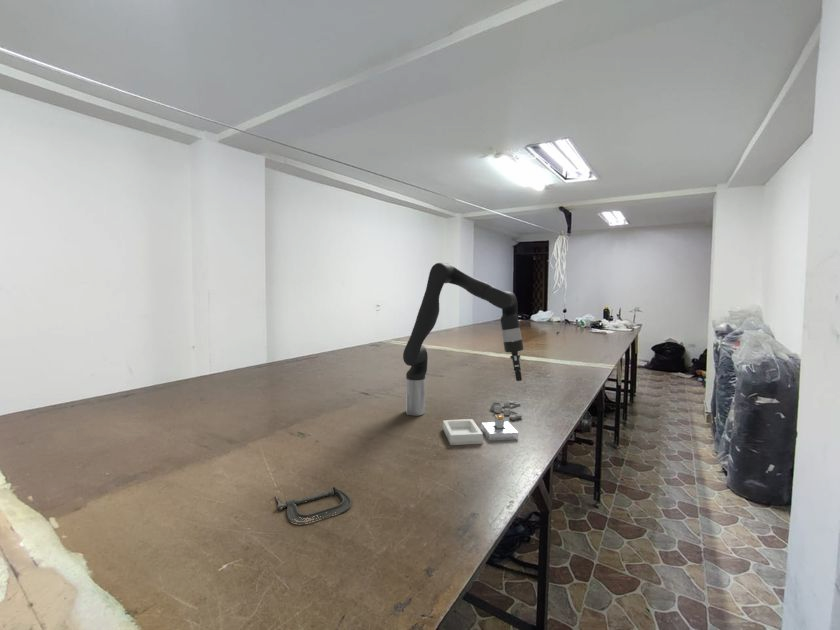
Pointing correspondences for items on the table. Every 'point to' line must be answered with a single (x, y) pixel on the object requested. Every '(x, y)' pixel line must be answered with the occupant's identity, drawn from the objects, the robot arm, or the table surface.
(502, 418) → the lock pin
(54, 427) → the table surface
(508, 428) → the block
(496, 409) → the pulley system
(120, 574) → the table surface
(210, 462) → the table surface
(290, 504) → the c clamp
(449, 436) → the parts tray
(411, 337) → the robot arm
